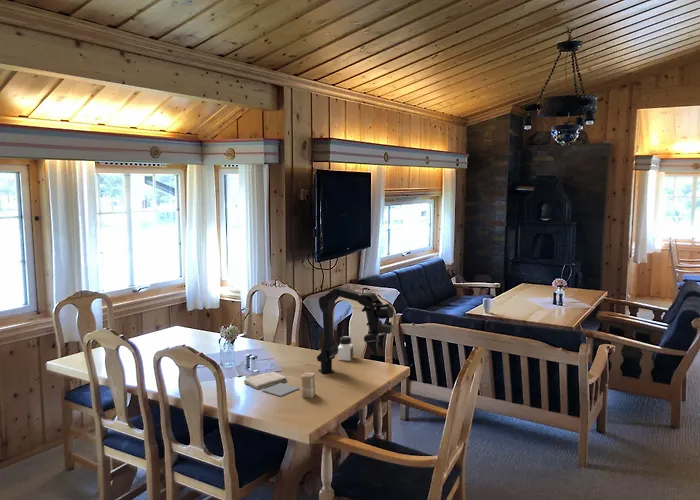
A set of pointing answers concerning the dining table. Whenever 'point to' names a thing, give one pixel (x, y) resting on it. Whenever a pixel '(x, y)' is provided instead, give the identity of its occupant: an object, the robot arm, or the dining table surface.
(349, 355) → the medicine bottle
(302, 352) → the dining table surface
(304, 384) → the beige tall block
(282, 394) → the mat
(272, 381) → the washcloth
